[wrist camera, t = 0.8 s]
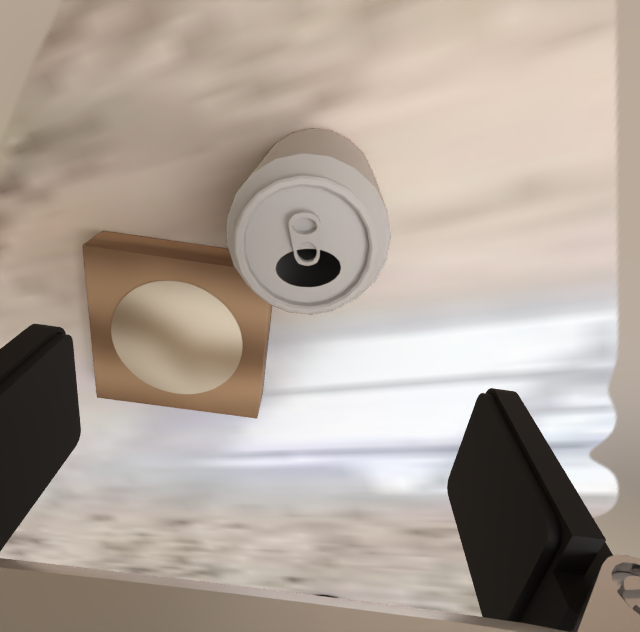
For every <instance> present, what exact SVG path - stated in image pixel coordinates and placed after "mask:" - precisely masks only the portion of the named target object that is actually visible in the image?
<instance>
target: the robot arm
mask: <svg viewBox="0 0 640 632" xmlns="http://www.w3.org/2000/svg"><path fill="white" fill-rule="evenodd" d="M80 433H81V427H80V416H79V405H78V394H77V383H76V372H75V361H74V350H73V341H72V338H71V336H70V335H66V333H65V331H64V329H63V328H61V327H55V326H47V325H40V324H33V325H31V326H29V327H28V328H27V329H25V330H24V331H23V332H21V333H20V334H19V335H18V336H16V337H15V338H14V339H13V340H11V341H10V342H9V343H7V344H6V345H5V346H4V347H2V348H1V349H0V551H1V550H2V548H3V547H4V545H5V544H6V543H7V541H8V540H9V538H10V537H11V536H12V534H13V533H14V531H15V530H16V529H17V527H18V526H19V525H20V523H21V522H22V520H23V519H24V518H25V516H26V515H27V513H28V512H29V511H30V509H31V508H32V506H33V505H34V504H35V502H36V501H37V500H38V498H39V497H40V495H41V494H42V493H43V491H44V490H45V488H46V487H47V486H48V484H49V483H50V481H51V480H52V479H53V477H54V476H55V474H56V473H57V472H58V470H59V469H60V468H61V466H62V465H63V463H64V462H65V461H66V459H67V458H68V456H69V455H70V454H71V452H72V451H73V449H74V448H75V447H76V445H77V443H78V441H79V438H80ZM447 489H448V496H449V500H450V503H451V507H452V510H453V514H454V517H455V521H456V524H457V528H458V532H459V535H460V539H461V542H462V546H463V549H464V553H465V556H466V560H467V563H468V567H469V570H470V574H471V577H472V581H473V585H474V588H475V592H476V595H477V599H478V602H479V606H480V609H481V613H482V616H483V617H478V616H471V615H464V614H457V613H450V612H443V611H435V610H427V609H419V608H411V607H403V606H395V605H388V604H380V603H372V602H364V601H356V600H348V599H340V598H332V597H324V596H316V595H308V594H300V593H292V592H284V591H276V590H267V589H259V588H251V587H243V586H234V585H226V584H218V583H209V582H201V581H193V580H184V579H176V578H168V577H159V576H151V575H142V574H134V573H125V572H116V571H108V570H99V569H90V568H81V567H73V566H64V565H55V564H47V563H38V562H29V561H20V560H12V559H2V558H0V632H640V559H639V558H635V557H632V556H629V555H614V556H613V554H612V553H611V551H610V549H609V548H608V546H607V544H606V543H605V541H606V539H605V537H604V536H603V534H602V532H601V531H600V529H599V528H598V526H597V524H596V523H595V521H594V519H593V518H592V516H591V514H590V513H589V511H588V509H587V508H586V506H585V504H584V503H583V501H582V499H581V498H580V496H579V494H578V493H577V491H576V489H575V488H574V486H573V484H572V483H571V481H570V480H569V478H568V476H567V475H566V473H565V471H564V470H563V468H562V466H561V465H560V463H559V461H558V460H557V458H556V456H555V455H554V453H553V451H552V450H551V448H550V446H549V445H548V443H547V441H546V440H545V438H544V436H543V435H542V433H541V431H540V430H539V428H538V427H537V425H536V423H535V422H534V420H533V418H532V417H531V415H530V413H529V412H528V410H527V408H526V407H525V405H524V403H523V402H522V400H521V398H520V397H519V395H518V394H517V393H516V392H514V391H507V390H500V389H493V388H491V389H489V390H488V391H487V392H486V394H484V393H481V394H480V395H479V396H478V398H477V401H476V403H475V406H474V409H473V412H472V414H471V417H470V420H469V423H468V426H467V428H466V431H465V434H464V437H463V440H462V442H461V445H460V448H459V451H458V453H457V456H456V459H455V462H454V465H453V467H452V470H451V473H450V476H449V479H448V486H447Z"/></svg>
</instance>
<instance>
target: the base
mask: <svg viewBox="0 0 640 632" xmlns="http://www.w3.org/2000/svg"><path fill="white" fill-rule="evenodd" d="M83 256H84V266H85V277H86V287H87V298H88V308H89V319H90V329H91V340H92V350H93V361H94V372H95V382H96V393H97V397H98V398H106V399H113V400H121V401H129V402H136V403H144V404H151V405H159V406H167V407H174V408H182V409H189V410H197V411H205V412H212V413H220V414H227V415H235V416H243V417H250V418H257V417H258V412H259V408H260V403H261V399H262V394H263V385H264V376H265V367H266V358H267V348H268V339H269V330H270V321H271V312H272V305H270V304H269V303H267V302H266V301H265V300H264V299H262V298H261V297H260V296H259V295H257V294H256V293H255V292H253V291H252V289H251V288H250V287H249V286H248V285H247V284H246V282H245V281H244V280H243V278H242V277H241V275H240V274H239V272H238V271H237V270H236V268H235V267H234V264H233V261H232V258H231V255H230V252H229V249H224V248H217V247H211V246H204V245H197V244H190V243H183V242H176V241H170V240H163V239H156V238H149V237H142V236H135V235H128V234H122V233H115V232H108V231H102V232H101V233H99V234H98V235H97V236H95V237H94V238H92V239H91V240H89V241H88V242H87V243H85V244H84V245H83Z"/></svg>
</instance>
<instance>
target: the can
mask: <svg viewBox="0 0 640 632" xmlns="http://www.w3.org/2000/svg"><path fill="white" fill-rule="evenodd" d="M390 238H391V233H390V226H389V220H388V213H387V209H386V206H385V203H384V201H383V198H382V195H381V193H380V190H379V187H378V184H377V182H376V179H375V176H374V174H373V171H372V169H371V167H370V165H369V163H368V161H367V159H366V157H365V155H364V153H363V152H362V151H361V150H360V149H359V148H358V147H357V146H356V145H355V144H354V143H353V142H352V141H351V140H350V139H348V138H346V137H344V136H342V135H340V134H338V133H336V132H334V131H331V130H323V129H314V128H311V129H307V130H302V131H298V132H293V133H291V134H290V135H288V136H287V137H285V138H283V139H282V140H280V141H278V142H277V143H276V144H275V145H274V146H273V148H272V149H271V150H270V151H269V152H268V154H267V155H266V156H265V157H264V159H263V160H262V161H261V162H260V164H259V165H258V166H257V167H256V169H255V170H254V171H253V172H252V174H251V175H250V176H249V177H248V179H247V180H246V181H245V183H244V184H243V185H242V186H241V188H240V189H239V190H238V191H237V193H236V194H235V197H234V200H233V203H232V205H231V208H230V211H229V214H228V216H227V245H228V248H229V252H230V255H231V258H232V261H233V264H234V267H235V268H236V270H237V271H238V272H239V274H240V275H241V277H242V278H243V280H244V281H245V282H246V284H247V285H248V286H249V287H250V288H251V289H252V291H253V292H255V293H256V294H257V295H259V296H260V297H261V298H262V299H264V300H265V301H266V302H267V303H269V304H270V305H273V306H275V307H278V308H280V309H282V310H285V311H287V312H291V313H300V314H309V315H312V314H317V313H323V312H329V311H333V310H335V309H337V308H339V307H341V306H343V305H345V304H347V303H349V302H351V301H352V300H354V299H356V298H358V297H359V296H360V295H361V294H362V293H363V292H364V291H365V290H366V289H367V288H368V287H370V286H371V285H372V284H373V283H374V282H375V280H376V278H377V277H378V275H379V273H380V271H381V269H382V267H383V266H384V264H385V262H386V260H387V254H388V249H389V244H390Z"/></svg>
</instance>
